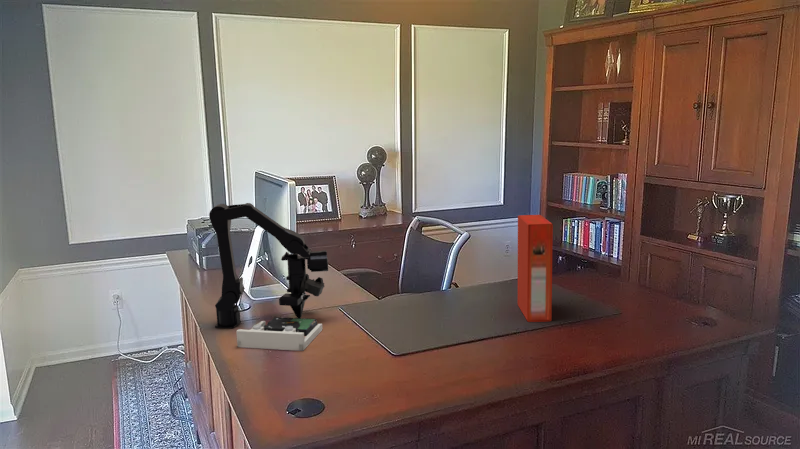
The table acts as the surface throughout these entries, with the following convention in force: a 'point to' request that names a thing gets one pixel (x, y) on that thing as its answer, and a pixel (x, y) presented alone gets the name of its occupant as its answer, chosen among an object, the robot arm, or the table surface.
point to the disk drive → (291, 324)
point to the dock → (275, 338)
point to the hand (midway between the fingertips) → (299, 318)
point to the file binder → (535, 267)
